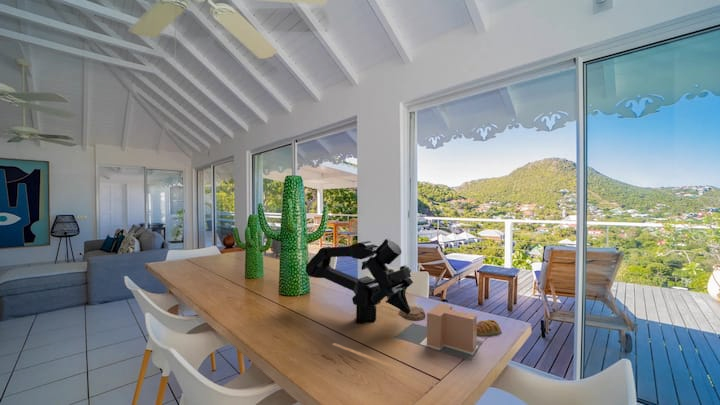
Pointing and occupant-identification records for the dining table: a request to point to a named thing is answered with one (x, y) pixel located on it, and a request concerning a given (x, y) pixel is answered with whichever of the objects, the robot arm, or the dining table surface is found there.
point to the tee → (451, 328)
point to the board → (419, 337)
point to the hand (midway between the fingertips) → (409, 313)
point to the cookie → (413, 314)
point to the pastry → (488, 328)
